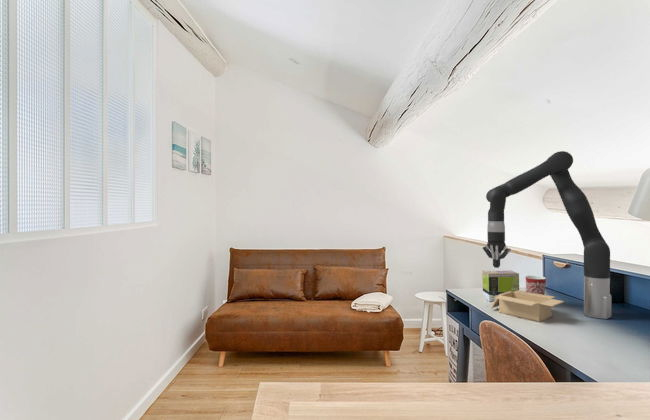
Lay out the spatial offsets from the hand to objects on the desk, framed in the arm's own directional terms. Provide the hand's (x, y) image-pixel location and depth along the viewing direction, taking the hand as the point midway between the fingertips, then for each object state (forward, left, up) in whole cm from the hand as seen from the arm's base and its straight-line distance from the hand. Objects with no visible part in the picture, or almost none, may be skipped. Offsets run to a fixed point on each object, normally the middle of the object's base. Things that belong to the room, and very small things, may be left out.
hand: (496, 267), depth 176 cm
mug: (-7, -23, -20) cm, 31 cm away
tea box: (+7, -17, -20) cm, 27 cm away
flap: (-4, 0, -11) cm, 12 cm away
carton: (-15, 0, -19) cm, 25 cm away
